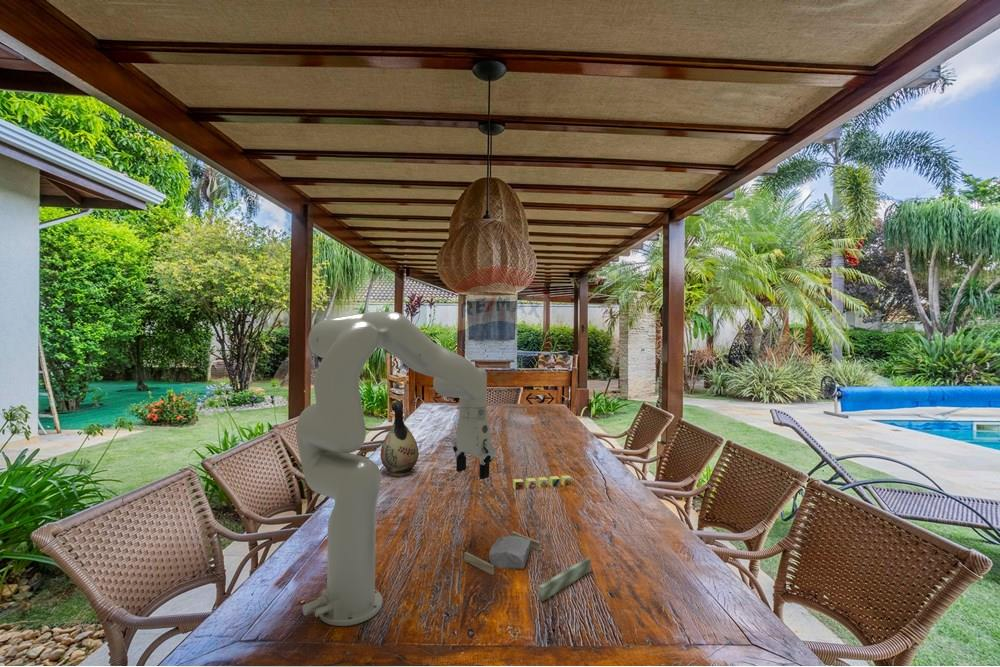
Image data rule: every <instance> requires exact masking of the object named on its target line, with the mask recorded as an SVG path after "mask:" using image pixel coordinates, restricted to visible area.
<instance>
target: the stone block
mask: <svg viewBox="0 0 1000 667" xmlns="http://www.w3.org/2000/svg"><path fill="white" fill-rule="evenodd" d="M530 552H531V540H530V539H525V538H521V537H516V536H512V535H509V536H502V537H500V538H497V539H496V541H494V542H493V544H492V546H491V548H490V550H489V555H488V556H489V557H488V559H489V562H490V564H492V565H494V567H495V568H496V567H497V568H502V569H515V570H517V569H519V570H524V568H525V567H526V564H527V561H528V558H529V554H530Z"/></svg>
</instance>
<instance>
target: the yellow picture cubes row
mask: <svg viewBox="0 0 1000 667" xmlns="http://www.w3.org/2000/svg"><path fill="white" fill-rule="evenodd" d="M561 485H562V486H564V487H566V486H573V477H571V476H570V475H569V474H568V475H560V477H559V476H556V475H555V476H553V475H552V476H549V477H548V478H547V477H546V476H542V477H537V478H535V477H529V478H525V482H524V480H523V479H522V478H515V479H512V487H513V489H514V490H515V491H520V490H524V488H525V487H526V488H527V489H528V490H531V489H537V486H538V487H539V488H540V489H543V488H544V489H545V488H549V486H551V488H555V487H561Z"/></svg>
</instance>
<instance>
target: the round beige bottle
mask: <svg viewBox="0 0 1000 667" xmlns="http://www.w3.org/2000/svg"><path fill="white" fill-rule="evenodd" d="M403 408H404V404H403V402H401V401H396V402H394V403H392V405H391V410H392V412H393V411H394V420H393V421H394V422H393V424H392V426H391V427H390V429H389V430H388V432H387V434H386V436H385V437H384V439H383V441H382V444H381V448H380V455H379V456H380V461H381V464H382V465H383V466H384V467H385V469H386V470H387V471H388V473H389V475H390V476H394V477H395V476H396V477H402V476H406V475H409V474H412V472H413V468H414V467H415V466H416V464H417V462H418V460H419V453H420V452H419V446H418V443H417V440H416V439H415V436H414V435H413V434H412V432H411V430H409V427H408V426H407V425H406V424H405V421H404V412H403V411H404V410H403Z"/></svg>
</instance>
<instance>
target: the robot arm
mask: <svg viewBox="0 0 1000 667" xmlns="http://www.w3.org/2000/svg"><path fill="white" fill-rule="evenodd" d="M308 345H309V348H310V350H311V351H312V353H313V354H314V355H316V356H317V357H319V358H322V359H321V361H320V363H319V365H318V367H317V369H316V371H315V375H314V382H313V389H314V397H315V398H314V399H315V403H312V404H310V405H308V406H307V407H306V408H304V409H303V411H301V413H300V414H299V416H298V418H297V421H296V427H295V438H296V443H297V448H298V454H299V458H300V463H301V468H302V472H303V476H304V480H305V482H306V484H307V486H308V487H309V488H310V489H311V490H312V491H313V492H315V493H317V494H319V495H322V496H326V497H328V498H331V499H332V500H334V504H333V505H334V506H333V507H332V508H333V509H332V511H331V512H330V515H329V518H328V522H327V523H328V524H327V554H326V555H327V556H326V557H327V566H326V567H327V571H326V572H327V575H326V588H324V589H322V591H321V596H318V597H317V599H316V600H314V601H310V602H307V603H305V604H303V605H302V614H303V615H304V616H307V615H310V614H312V613H314V616H315V617H316V618H318V617H319V619H320V620H321V621H322V622H324V623H326V624H328V625H331V626H335V627H336V626H337V627H346V626H354V625H358V624H361V623H363V622H366V621H368V620H370V619H371V618H373V617H374V616H376V615H377V614H378V612H380V611H381V608H382V606H383V596H382V594H381V593H380V592H379V591H378V590H377V589H376V530H377V528H376V526H377V524H376V520H377V506H378V501H379V500H378V499H379V494H380V489H381V485H382V475H381V474H382V473H381V470H380V468H379V466H378V465H377V463H375V462H374V460H372V459H370V458H368V457H366V456H363V455H359V454H354V453H355V452H356V451H357V450H359V449H361V448H362V446H363V444H364V443H365V441H366V436H367V435H366V434H367V431H366V423H365V422H366V421H365V417H364V416H365V415H364V411H363V405H362V398H361V394H360V393H361V392H360V376H361V373H362V371H363V368H364V366H365V365H366V363H367V361H368V360H369V359H370V358H371V356H372V355H373V354H374V352H375V351H376V349H384V350H386V351H387V352H389V354H391V355H393V356H394V357H395V358H397V359H398V360H399V361H400V362H402V363H403V364H405V366H407V367H408V368H410V370H412V371H413V372H416V373H418V374H422V375H424V376H427V377H432V378H433V381H432V384H433V385H432V386H433V389H434V390H435V392H436V393H437V394H438V395H440V396H443V397H446V398H447V397H448V398H454V399H456V398H459V415H458V419H457V420H458V421H457V426H456V436H455V437H454V438H452V439H451V441H450V442H451V445H452V450H453V453H454V457H455V458H456V464H455V465H456V467H455V468H456V472H458V473H460V472H463V471H466V470H467V455H471V456H475V457H477V458H478V459H479V462H480V464H479V467H478V469H479V470H478V472H479V476H478V477H479V480H484V479H488V478H489V477H490V464H491V463H492V461H493V460H494V458H495V455H496V453H497V450H496V448H495V447H494V446H493V445H492V435H491V434H492V433H491V426H490V421H489V418H487V416H488V414H489V413H488V410H487V409H488V408H487V404H488V403H487V402H488V401H487V394H488V392H487V390H488V385H487V384H488V383H487V382H488V374H487V371H486V369H484V368H478V367H476V366H475V364H474V363H472V361H470V360H469V359H467V358H466V357H464V356H462V355H460V354H458V353H456V352H454V351H452V350H450V349H448V348H446V347H444V346H442V345H440V344H438V343H436V342H434V341H433V340H432V339H431V338H430V337H429V336H428V335H426V334H425V333H424V332H423V331H422V330H421V329H420V328H418V327H417V326H416V325H415V324H414V323H413V321H411V320H410V319H408V317H406V316H405V315H404V314H401V313H399V312H397V311H371V312H370V311H369V312H365V313H360V314H359V313H358V314H353V315H349V316H348V315H347V316H342V317H336V318H330V319H323V320H321V321H319V322H317V323H315V325H314V326H313V327H312V328H311V329H310V331H309V335H308ZM466 454H467V455H466Z"/></svg>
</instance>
